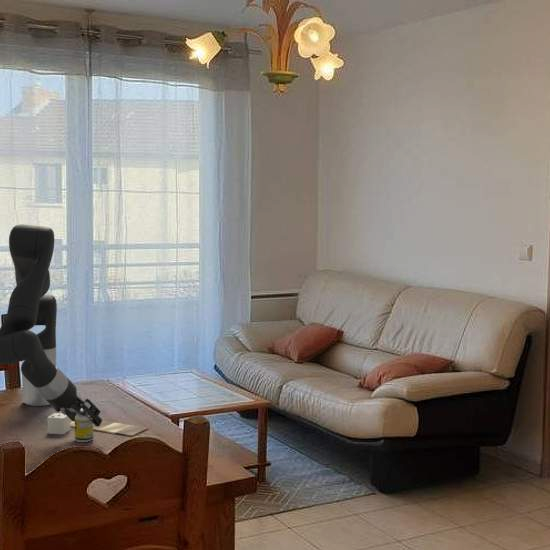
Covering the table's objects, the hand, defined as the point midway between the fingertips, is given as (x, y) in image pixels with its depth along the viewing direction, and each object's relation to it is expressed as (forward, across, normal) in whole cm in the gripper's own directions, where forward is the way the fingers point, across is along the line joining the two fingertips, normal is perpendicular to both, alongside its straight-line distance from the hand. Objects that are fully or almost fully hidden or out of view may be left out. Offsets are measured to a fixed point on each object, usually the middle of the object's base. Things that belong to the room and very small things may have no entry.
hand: (87, 421), depth 213 cm
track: (+11, +3, -4) cm, 12 cm away
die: (+4, +11, +3) cm, 12 cm away
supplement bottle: (+3, 0, +4) cm, 5 cm away
